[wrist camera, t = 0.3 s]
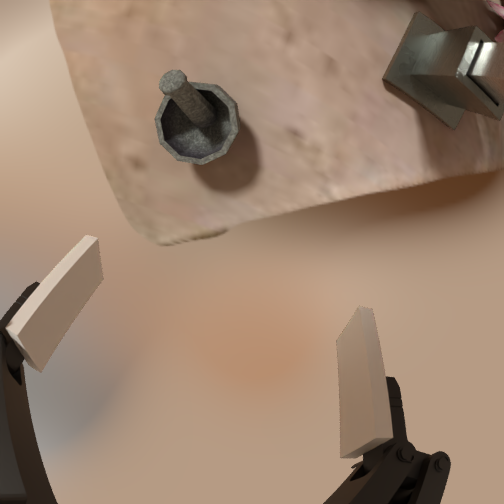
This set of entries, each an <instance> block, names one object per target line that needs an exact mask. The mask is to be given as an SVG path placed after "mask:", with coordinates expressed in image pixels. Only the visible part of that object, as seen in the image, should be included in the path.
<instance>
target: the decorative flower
mask: <svg viewBox="0 0 504 504" xmlns="http://www.w3.org/2000/svg"><path fill="white" fill-rule="evenodd" d="M486 1H487V2H488V4H489V5H490V6H491V7H492V8H493V9H494V10H495V11H496V12H497V13H498V14H499V15H500V16H501V17H502V18H503V19H504V7H503V6H500V5H498V4H496V3H493V2H491V1H488V0H486ZM494 39H495V40H496V41H498V42H504V29H503V30H502V31H500V32H499V33H498V35H497V36H496V37H495V38H494Z"/></svg>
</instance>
